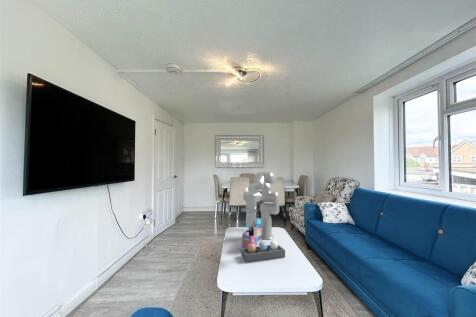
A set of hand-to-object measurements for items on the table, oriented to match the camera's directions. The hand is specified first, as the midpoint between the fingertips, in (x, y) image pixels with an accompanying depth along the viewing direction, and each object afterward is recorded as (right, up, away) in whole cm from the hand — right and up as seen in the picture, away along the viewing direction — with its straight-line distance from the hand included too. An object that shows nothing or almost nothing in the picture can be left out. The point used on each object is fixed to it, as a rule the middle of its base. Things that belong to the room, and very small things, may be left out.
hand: (251, 235), depth 162 cm
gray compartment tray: (+9, -17, +3) cm, 19 cm away
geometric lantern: (+8, -18, +67) cm, 70 cm away
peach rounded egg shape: (0, -13, 0) cm, 13 cm away
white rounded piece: (+17, -13, +5) cm, 22 cm away
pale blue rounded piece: (+9, -13, +3) cm, 16 cm away
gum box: (+2, -17, +22) cm, 28 cm away
